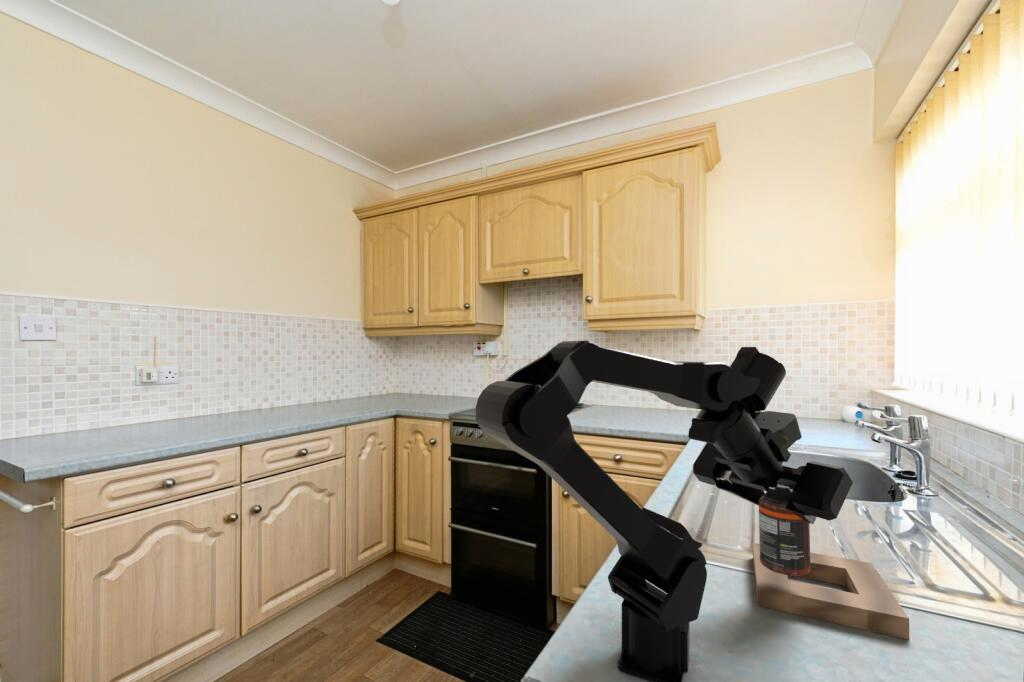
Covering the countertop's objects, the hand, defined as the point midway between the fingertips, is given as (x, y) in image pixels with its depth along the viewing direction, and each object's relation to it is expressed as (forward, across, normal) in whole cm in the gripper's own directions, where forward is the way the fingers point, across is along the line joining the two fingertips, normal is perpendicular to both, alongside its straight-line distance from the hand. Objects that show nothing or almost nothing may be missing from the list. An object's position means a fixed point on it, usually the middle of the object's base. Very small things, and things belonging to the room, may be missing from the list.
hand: (789, 513), depth 62 cm
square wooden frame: (+14, 0, +4) cm, 14 cm away
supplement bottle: (+4, 0, +6) cm, 7 cm away
